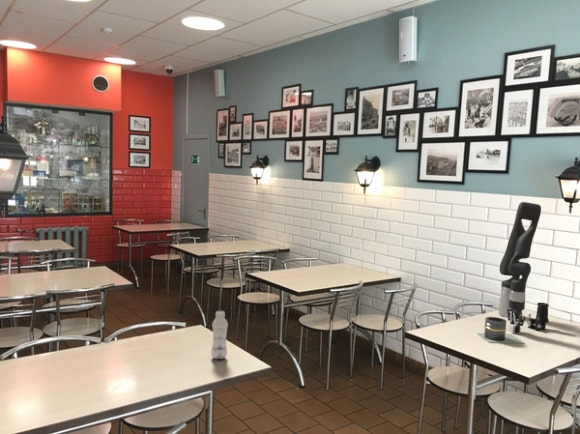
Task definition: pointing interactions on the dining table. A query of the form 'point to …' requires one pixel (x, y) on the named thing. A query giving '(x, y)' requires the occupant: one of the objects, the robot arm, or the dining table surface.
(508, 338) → the mat
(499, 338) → the grey faceted ring
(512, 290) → the robot arm
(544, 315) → the scope
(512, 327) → the white stepped cube
